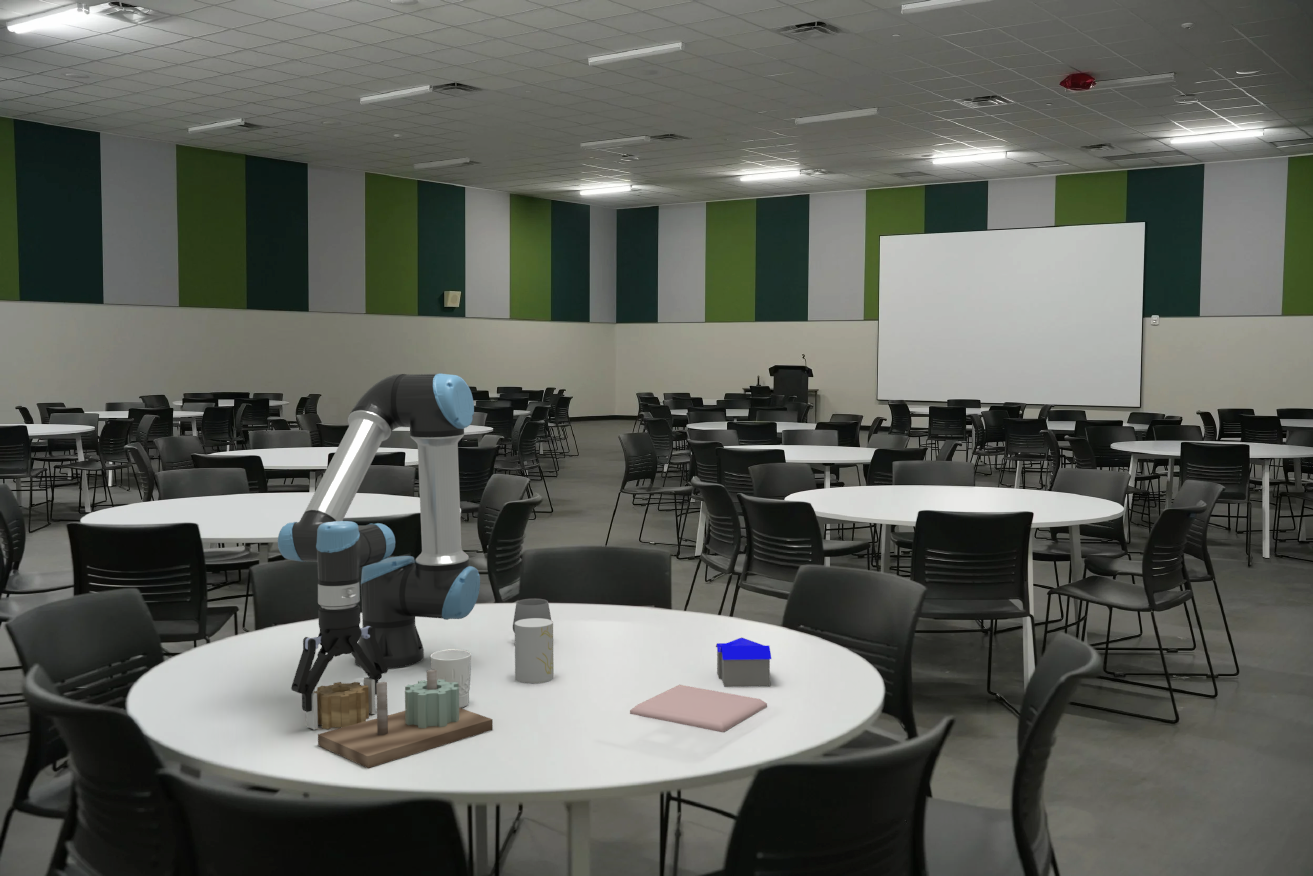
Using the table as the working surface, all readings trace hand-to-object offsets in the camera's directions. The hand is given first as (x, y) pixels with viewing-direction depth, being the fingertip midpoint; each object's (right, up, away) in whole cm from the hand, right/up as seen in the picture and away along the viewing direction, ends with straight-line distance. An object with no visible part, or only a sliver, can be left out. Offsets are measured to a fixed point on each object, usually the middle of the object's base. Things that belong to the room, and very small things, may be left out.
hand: (341, 720), depth 206 cm
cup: (+29, +4, +57) cm, 65 cm away
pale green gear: (+18, +2, -6) cm, 19 cm away
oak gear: (0, 0, 0) cm, 0 cm away
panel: (+61, -1, +1) cm, 61 cm away
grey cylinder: (+33, +2, +28) cm, 43 cm away
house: (+78, +1, +26) cm, 82 cm away
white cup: (+19, 0, +10) cm, 21 cm away
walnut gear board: (+14, -1, -9) cm, 17 cm away
